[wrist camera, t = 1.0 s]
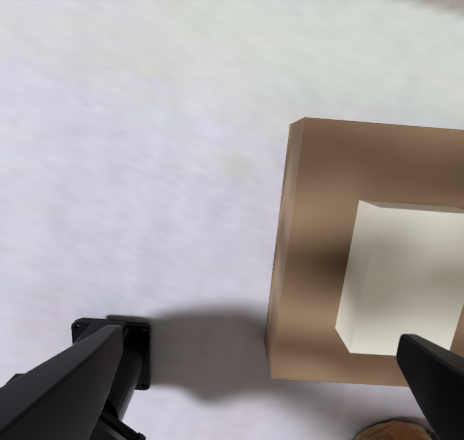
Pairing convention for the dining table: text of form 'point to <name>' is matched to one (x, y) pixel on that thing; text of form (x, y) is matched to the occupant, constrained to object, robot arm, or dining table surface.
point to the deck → (345, 235)
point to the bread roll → (396, 432)
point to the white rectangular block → (402, 276)
